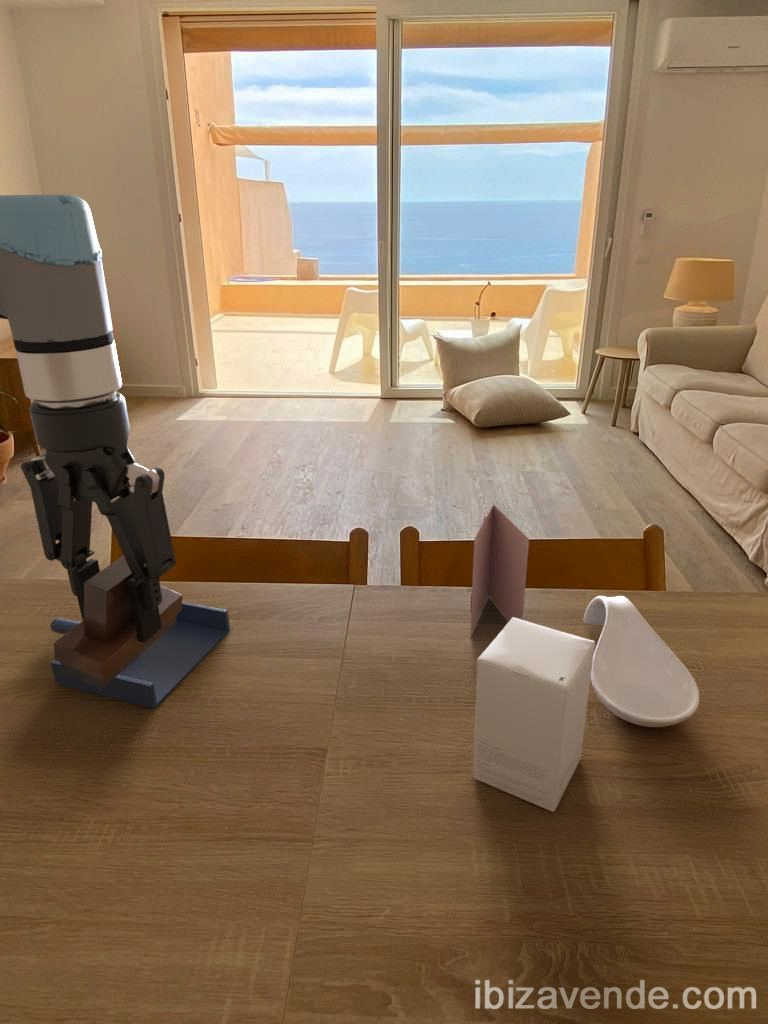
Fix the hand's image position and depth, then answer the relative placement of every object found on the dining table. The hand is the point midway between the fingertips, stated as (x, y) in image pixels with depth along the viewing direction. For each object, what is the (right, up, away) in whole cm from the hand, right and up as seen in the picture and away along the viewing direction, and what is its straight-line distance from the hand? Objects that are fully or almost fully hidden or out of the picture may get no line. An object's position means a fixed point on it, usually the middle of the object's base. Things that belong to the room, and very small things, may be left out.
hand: (123, 628), depth 68 cm
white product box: (+41, -16, +5) cm, 44 cm away
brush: (-1, -2, +1) cm, 2 cm away
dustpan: (-9, -7, +25) cm, 28 cm away
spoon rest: (+55, -9, +19) cm, 59 cm away
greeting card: (+42, -4, +31) cm, 52 cm away
